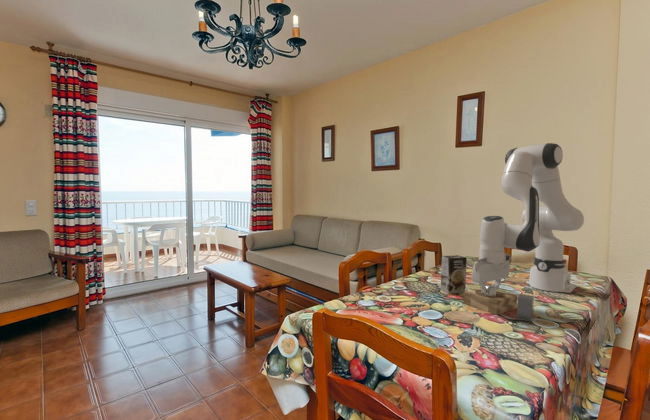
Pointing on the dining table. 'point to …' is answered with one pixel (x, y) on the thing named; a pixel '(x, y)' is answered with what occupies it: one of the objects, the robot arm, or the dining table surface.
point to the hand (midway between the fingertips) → (490, 291)
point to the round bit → (491, 290)
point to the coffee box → (453, 274)
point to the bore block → (490, 301)
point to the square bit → (525, 307)
